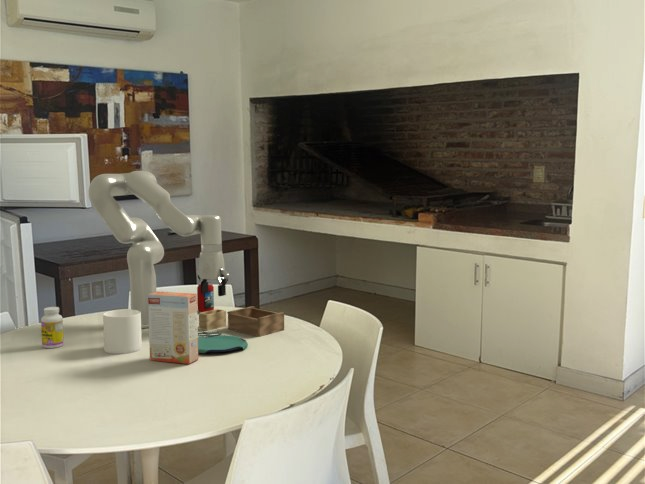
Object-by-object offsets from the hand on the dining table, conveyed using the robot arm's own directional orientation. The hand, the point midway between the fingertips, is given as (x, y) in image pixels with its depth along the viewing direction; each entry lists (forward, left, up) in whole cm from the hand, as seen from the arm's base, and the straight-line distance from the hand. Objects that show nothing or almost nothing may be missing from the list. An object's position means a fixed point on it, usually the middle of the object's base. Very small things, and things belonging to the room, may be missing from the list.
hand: (213, 294), depth 232 cm
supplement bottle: (-51, +21, -13) cm, 57 cm away
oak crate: (0, 0, -13) cm, 13 cm away
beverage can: (+16, +23, -13) cm, 31 cm away
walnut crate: (+8, -15, -13) cm, 21 cm away
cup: (-38, 0, -13) cm, 40 cm away
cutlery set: (-15, -17, -13) cm, 26 cm away
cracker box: (-35, -23, -13) cm, 44 cm away
